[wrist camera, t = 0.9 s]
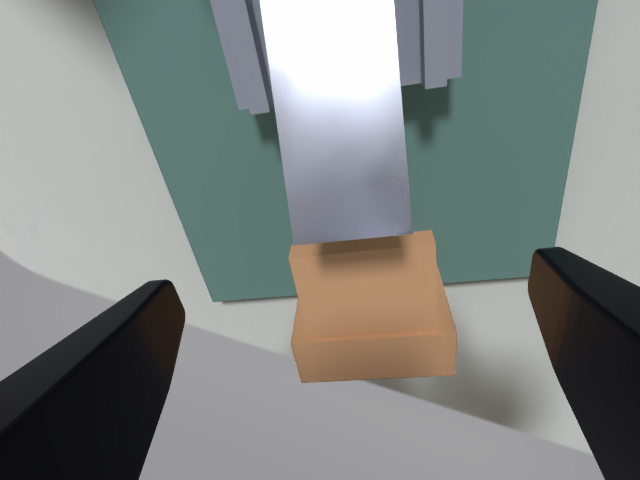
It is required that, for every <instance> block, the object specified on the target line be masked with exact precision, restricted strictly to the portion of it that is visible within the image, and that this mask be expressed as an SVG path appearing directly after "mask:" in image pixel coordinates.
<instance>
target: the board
mask: <svg viewBox="0 0 640 480" xmlns="http://www.w3.org/2000/svg"><path fill="white" fill-rule="evenodd" d="M93 1H94V4H95V7H96V9H97V12H98V14H99V17H100V19H101V22H102V24H103V27H104V29H105V32H106V34H107V37H108V39H109V42H110V44H111V47H112V49H113V52H114V54H115V57H116V59H117V62H118V64H119V67H120V69H121V72H122V74H123V77H124V80H125V82H126V85H127V87H128V90H129V92H130V95H131V97H132V100H133V102H134V105H135V107H136V110H137V112H138V115H139V117H140V120H141V122H142V125H143V127H144V130H145V132H146V135H147V137H148V140H149V142H150V145H151V147H152V150H153V152H154V155H155V158H156V160H157V163H158V165H159V168H160V170H161V173H162V175H163V178H164V180H165V183H166V185H167V188H168V190H169V193H170V195H171V198H172V200H173V203H174V205H175V208H176V210H177V213H178V215H179V218H180V220H181V223H182V225H183V228H184V230H185V233H186V236H187V238H188V241H189V243H190V246H191V248H192V251H193V253H194V256H195V258H196V261H197V263H198V266H199V268H200V271H201V273H202V276H203V278H204V281H205V283H206V286H207V288H208V291H209V293H210V296H211V298H212V301H213V302H219V301H232V300H244V299H256V298H269V297H281V296H294V295H297V291H296V287H295V283H294V279H293V275H292V271H291V267H290V262H289V253H290V249H291V244H293V237H292V230H291V223H290V216H289V208H288V201H287V194H286V187H285V179H284V172H283V165H282V158H281V151H280V143H279V136H278V129H277V122H276V114H275V107H274V100H273V93H272V86H271V78H270V71H269V64H268V57H267V49H266V42H265V35H264V28H263V21H262V13H261V6H260V0H93ZM597 3H598V0H394V12H395V24H396V36H397V48H398V60H399V72H400V84H401V96H402V108H403V120H404V132H405V144H406V156H407V168H408V180H409V192H410V204H411V216H412V228H413V232H416V231H426V230H432V233H433V236H434V239H435V243H436V262H437V265H438V269H439V272H440V276H441V279H442V283H456V282H468V281H481V280H493V279H506V278H518V277H529V274H530V268H531V261H532V256H533V253H534V251H535V250H537V249H539V248H550V247H555V241H556V235H557V230H558V224H559V218H560V213H561V207H562V201H563V196H564V190H565V184H566V179H567V173H568V167H569V162H570V156H571V150H572V145H573V139H574V133H575V128H576V122H577V116H578V111H579V105H580V99H581V94H582V88H583V82H584V77H585V71H586V65H587V60H588V54H589V48H590V43H591V37H592V31H593V26H594V20H595V14H596V9H597Z"/></svg>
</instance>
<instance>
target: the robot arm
mask: <svg viewBox="0 0 640 480" xmlns="http://www.w3.org/2000/svg"><path fill="white" fill-rule="evenodd" d="M528 293H529V298H530V301H531V304H532V307H533V310H534V313H535V316H536V319H537V322H538V325H539V328H540V331H541V334H542V337H543V340H544V343H545V346H546V349H547V352H548V355H549V358H550V361H551V363H552V366H553V369H554V372H555V374H556V376H557V378H558V381H559V383H560V385H561V387H562V389H563V392H564V394H565V396H566V398H567V400H568V402H569V404H570V406H571V408H572V411H573V413H574V415H575V417H576V419H577V421H578V423H579V425H580V428H581V430H582V432H583V434H584V436H585V438H586V440H587V442H588V444H589V447H590V449H591V451H592V453H593V455H594V457H595V459H596V461H597V463H598V466H599V468H600V470H601V472H602V474H603V476H604V478H605V480H640V287H639V286H637V285H635V284H633V283H631V282H629V281H627V280H625V279H623V278H621V277H619V276H617V275H615V274H613V273H611V272H609V271H607V270H605V269H603V268H601V267H599V266H597V265H595V264H593V263H591V262H589V261H587V260H585V259H583V258H582V257H580V256H578V255H576V254H574V253H572V252H570V251H568V250H566V249H564V248H561V247H550V248H539V249H537V250H535V251H534V253H533V256H532V261H531V268H530V274H529V281H528ZM184 323H185V310H184V307H183V305H182V303H181V301H180V298H179V296H178V294H177V292H176V289H175V287H174V285H173V283H172V282H171V281H169V280H154V281H149V282H147V283H145V284H144V285H142V286H141V287H139V288H138V289H136V290H135V291H133V292H132V293H130V294H129V295H128V296H126V297H125V298H123V299H122V300H120V301H119V302H117V303H116V304H114V305H113V306H111V307H110V308H108V309H107V310H106V311H104V312H102V313H101V314H99V315H98V316H97V317H95V318H94V319H92V320H91V321H89V322H88V323H86V324H85V325H83V326H82V327H80V328H79V329H77V330H76V331H75V332H73V333H71V334H70V335H68V336H67V337H66V338H64V339H63V340H61V341H60V342H58V343H57V344H55V345H54V346H52V347H51V348H49V349H48V350H46V351H45V352H43V353H42V354H40V355H39V356H37V357H36V358H34V359H33V360H32V361H30V362H29V363H27V364H26V365H24V366H23V367H21V368H20V369H19V370H17V371H15V372H14V373H12V374H11V375H9V376H8V377H6V378H5V379H3V380H2V381H0V480H139V476H140V474H141V471H142V468H143V465H144V462H145V459H146V456H147V453H148V450H149V447H150V444H151V442H152V438H153V436H154V433H155V430H156V427H157V424H158V421H159V418H160V415H161V412H162V409H163V406H164V404H165V400H166V397H167V394H168V391H169V388H170V384H171V380H172V376H173V372H174V368H175V362H176V358H177V354H178V349H179V345H180V341H181V337H182V332H183V328H184Z"/></svg>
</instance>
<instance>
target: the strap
mask: <svg viewBox="0 0 640 480" xmlns="http://www.w3.org/2000/svg"><path fill="white" fill-rule="evenodd" d="M260 6H261V13H262V21H263V28H264V35H265V42H266V49H267V57H268V64H269V71H270V78H271V86H272V93H273V100H274V107H275V114H276V122H277V129H278V136H279V143H280V151H281V158H282V165H283V172H284V179H285V187H286V194H287V201H288V208H289V216H290V223H291V230H292V237H293V244H294V246H295V245H305V244H315V243H326V242H336V241H346V240H356V239H366V238H377V237H387V236H397V235H407V234H413V228H412V216H411V204H410V192H409V180H408V168H407V156H406V144H405V132H404V120H403V108H402V96H401V84H400V72H399V60H398V48H397V36H396V24H395V12H394V0H260Z"/></svg>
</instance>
